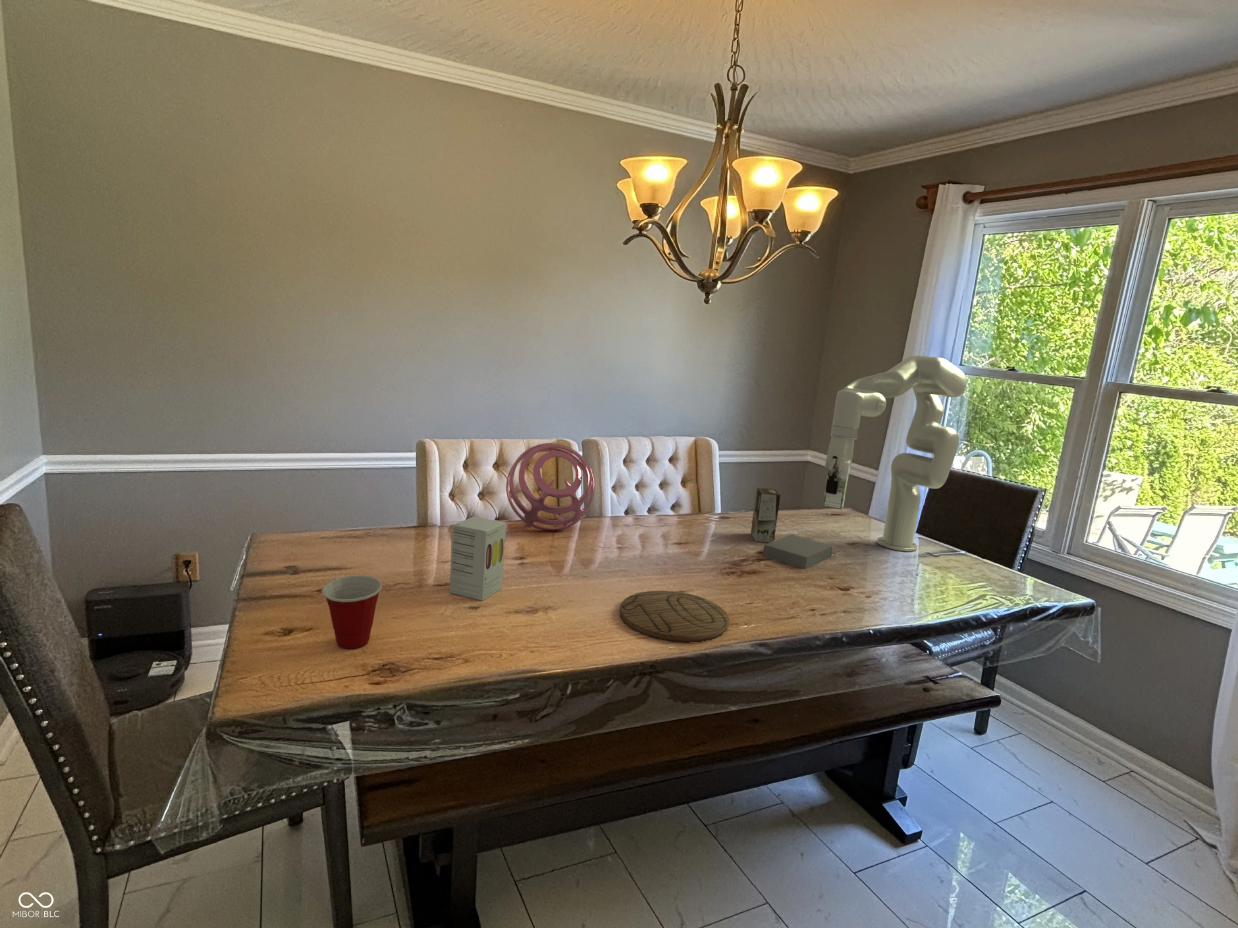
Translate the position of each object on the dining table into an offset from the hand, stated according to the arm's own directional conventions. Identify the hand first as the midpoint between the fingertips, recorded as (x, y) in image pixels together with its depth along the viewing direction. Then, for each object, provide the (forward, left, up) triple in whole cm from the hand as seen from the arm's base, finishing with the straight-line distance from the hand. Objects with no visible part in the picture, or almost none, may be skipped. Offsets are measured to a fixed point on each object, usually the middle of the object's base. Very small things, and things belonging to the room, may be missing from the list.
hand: (835, 491), depth 203 cm
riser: (+3, -8, -22) cm, 24 cm away
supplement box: (+95, -49, -22) cm, 109 cm away
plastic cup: (+130, -44, -22) cm, 139 cm away
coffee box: (-5, -24, -22) cm, 33 cm away
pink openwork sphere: (+44, -74, -22) cm, 89 cm away
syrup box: (0, 0, -5) cm, 5 cm away
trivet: (+71, -8, -23) cm, 75 cm away
